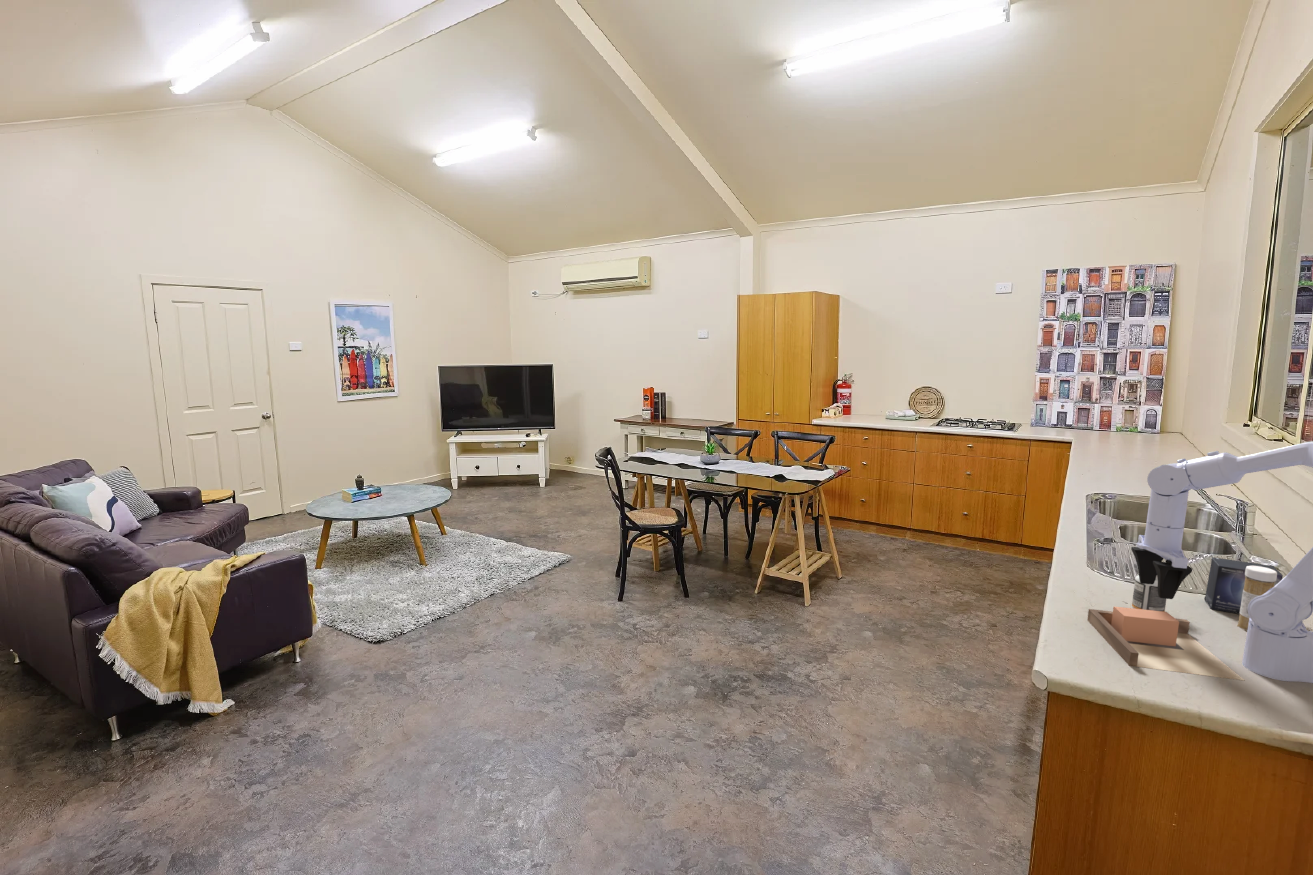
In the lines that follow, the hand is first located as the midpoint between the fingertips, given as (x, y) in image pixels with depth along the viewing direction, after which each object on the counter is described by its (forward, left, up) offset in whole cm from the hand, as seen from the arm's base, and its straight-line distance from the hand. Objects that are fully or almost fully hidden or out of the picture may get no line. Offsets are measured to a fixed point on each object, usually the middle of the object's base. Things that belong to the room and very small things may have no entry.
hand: (1155, 590), depth 123 cm
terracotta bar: (+3, +5, -8) cm, 10 cm away
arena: (+2, +8, -9) cm, 13 cm away
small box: (-25, -20, -10) cm, 33 cm away
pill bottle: (-5, -13, -10) cm, 17 cm away
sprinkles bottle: (-21, -8, -10) cm, 24 cm away
